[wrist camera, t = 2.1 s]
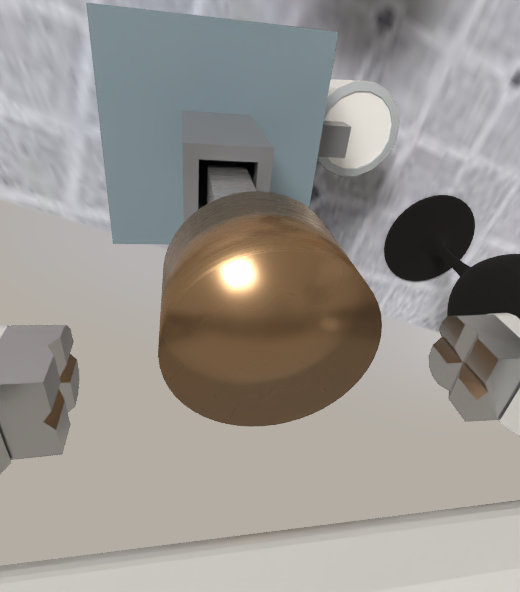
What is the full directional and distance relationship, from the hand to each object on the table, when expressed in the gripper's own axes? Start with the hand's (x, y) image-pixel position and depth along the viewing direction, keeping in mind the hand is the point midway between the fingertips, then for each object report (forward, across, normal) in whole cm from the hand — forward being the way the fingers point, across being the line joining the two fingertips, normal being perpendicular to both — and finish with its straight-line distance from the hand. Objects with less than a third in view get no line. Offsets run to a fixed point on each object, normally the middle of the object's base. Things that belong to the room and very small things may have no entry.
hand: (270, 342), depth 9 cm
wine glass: (+31, -25, +12) cm, 42 cm away
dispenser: (+31, -2, 0) cm, 31 cm away
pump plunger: (+11, 0, 0) cm, 11 cm away
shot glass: (+31, -11, 0) cm, 33 cm away
